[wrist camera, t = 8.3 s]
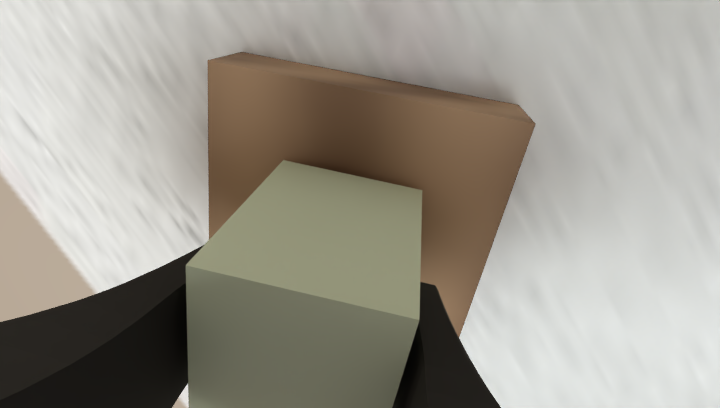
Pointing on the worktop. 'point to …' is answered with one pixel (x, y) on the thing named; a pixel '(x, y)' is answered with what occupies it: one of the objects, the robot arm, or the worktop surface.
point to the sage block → (306, 295)
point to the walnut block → (371, 152)
